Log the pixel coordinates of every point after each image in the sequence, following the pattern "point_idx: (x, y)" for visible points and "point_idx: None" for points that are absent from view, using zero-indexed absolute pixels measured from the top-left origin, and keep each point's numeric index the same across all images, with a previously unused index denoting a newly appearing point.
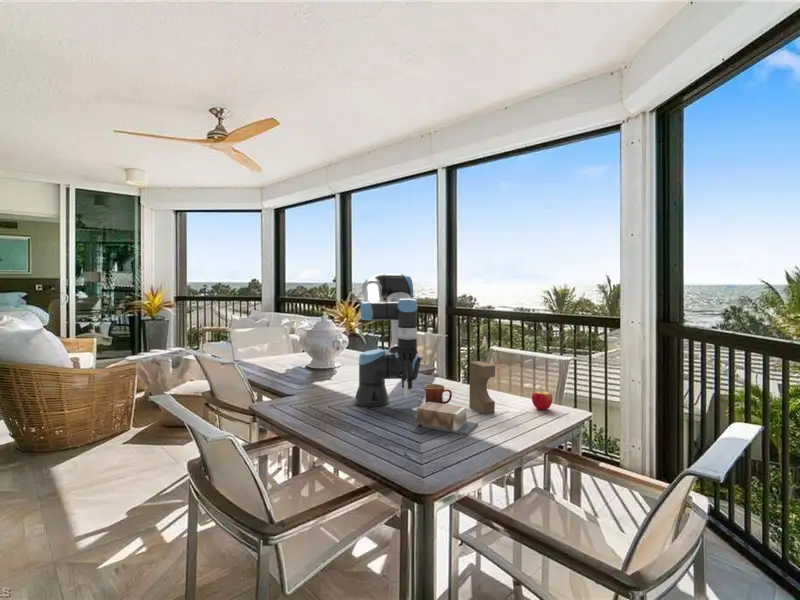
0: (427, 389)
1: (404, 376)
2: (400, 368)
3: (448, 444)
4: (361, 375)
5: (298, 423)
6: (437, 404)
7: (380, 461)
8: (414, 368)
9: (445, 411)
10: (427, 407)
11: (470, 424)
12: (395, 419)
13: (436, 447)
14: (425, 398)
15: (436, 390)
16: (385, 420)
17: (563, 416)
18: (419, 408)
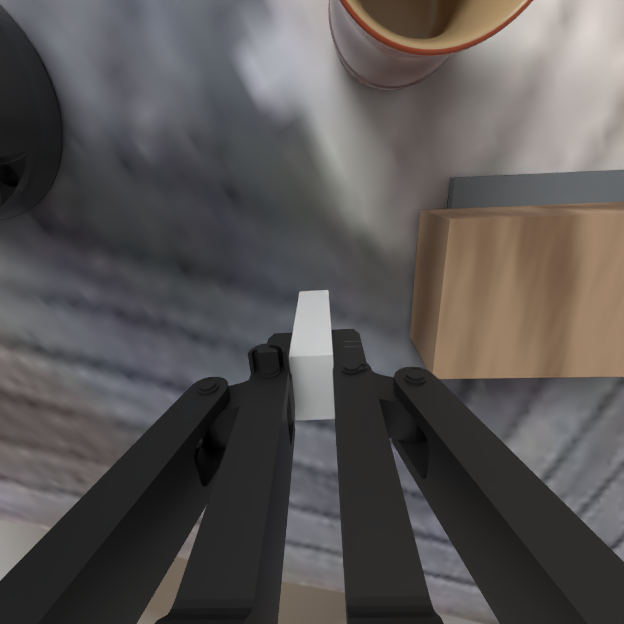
0: (403, 52)
1: (292, 449)
2: (166, 498)
3: (588, 437)
4: None
5: (27, 500)
6: (536, 251)
7: (428, 583)
8: (496, 592)
9: (618, 358)
10: (488, 341)
11: None
12: (277, 309)
13: (551, 471)
14: (346, 37)
15: (507, 19)
16: (247, 341)
17: None
18: (448, 378)
